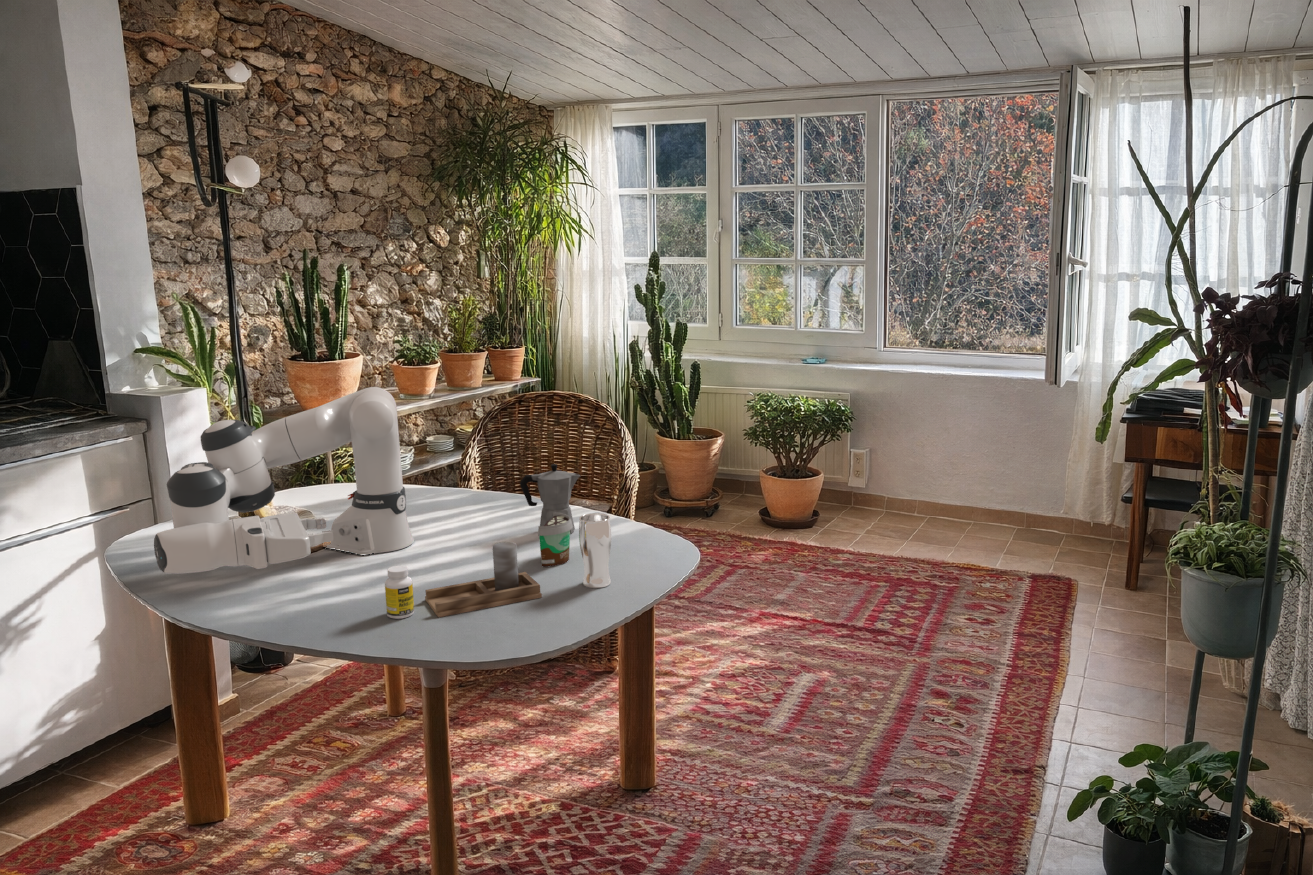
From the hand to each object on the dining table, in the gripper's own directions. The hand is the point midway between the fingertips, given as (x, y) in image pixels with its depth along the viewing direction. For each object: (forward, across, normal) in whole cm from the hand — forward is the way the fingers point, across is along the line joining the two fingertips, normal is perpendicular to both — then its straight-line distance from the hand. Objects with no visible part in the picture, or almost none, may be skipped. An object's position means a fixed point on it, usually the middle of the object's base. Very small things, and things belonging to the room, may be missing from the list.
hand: (329, 528), depth 185 cm
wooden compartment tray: (+30, 0, -20) cm, 36 cm away
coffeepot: (+59, -37, -20) cm, 72 cm away
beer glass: (+54, +3, -20) cm, 58 cm away
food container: (+52, -15, -20) cm, 58 cm away
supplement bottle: (+12, 0, -20) cm, 24 cm away
